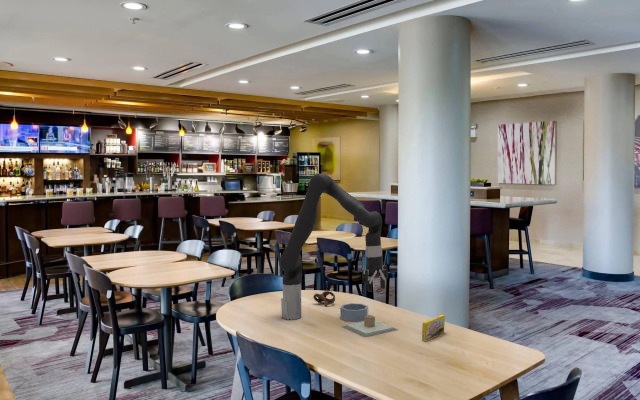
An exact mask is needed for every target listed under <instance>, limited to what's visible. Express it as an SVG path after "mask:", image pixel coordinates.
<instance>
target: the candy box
mask: <svg viewBox="0 0 640 400" xmlns="http://www.w3.org/2000/svg"><path fill="white" fill-rule="evenodd" d="M445 318H446V315H445V314H442V313H441V314H440V315H437V316H434V317H432V318H429V319H426V320H425V321H422V324H421V325H422V329H421V331H422V332H421V342H427V340H428V341H430V340H431V338H432V339H433V337H434V338H436V337H438V336H440V335H442V334H444V333H445V322H446V321H445V320H446V319H445ZM439 334H440V335H439ZM437 335H438V336H437ZM435 336H436V337H435ZM429 339H430V340H429Z"/></svg>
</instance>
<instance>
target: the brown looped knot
mask: <svg viewBox="0 0 640 400" xmlns="http://www.w3.org/2000/svg"><path fill="white" fill-rule="evenodd" d="M329 295H330V296H331V297H332V298H327V297H328V296H329ZM313 299H314V301H315V302H317V304H321V303H323V302H324V304H323V306H324V307H326V308H327V307H328V306H329V305H332V304H334V303H335V302H336V295H335V293H333V292H332V291H329V290H325V291H322V293H315V294H313Z"/></svg>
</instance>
